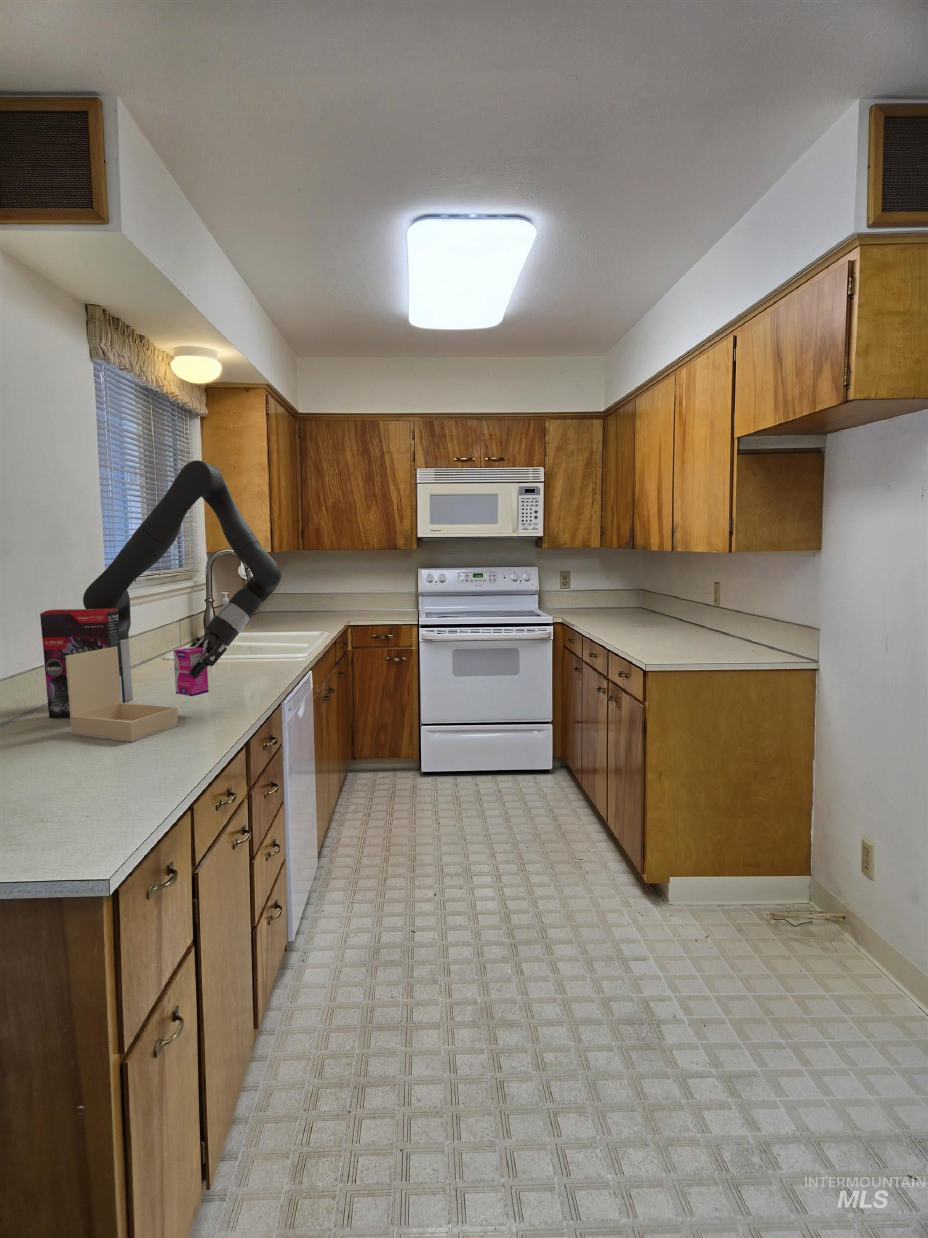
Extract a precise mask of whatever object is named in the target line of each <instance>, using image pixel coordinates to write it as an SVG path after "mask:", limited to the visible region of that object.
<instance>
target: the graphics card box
mask: <svg viewBox="0 0 928 1238" xmlns="http://www.w3.org/2000/svg"><path fill="white" fill-rule="evenodd" d="M39 616H40V618H39V619H40V625H41V626H40V627H41V639H42V650H43V661H44V671H45V673H44V675H45V684H46V685H45V686H46V695H47V708H48V718H49V719H70V708H69V695H68V683H67V670H66V657H65V656H67V655H73V654H78V653H83V652H89V651H94V650H100V649H105V648H111V647H117V648H118V662H119V677H120V691H121V703H126V702H125V691H124V679H123V667H122V655H121V641H120V627H119V610H118V608H115V609H85V608H76V609H73V608H72V609H71V608H70V609H68V608H67V609H66V608H65V609H49V610H45V611H42V612H41V613H40V614H39Z"/></svg>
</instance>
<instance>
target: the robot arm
mask: <svg viewBox="0 0 928 1238" xmlns="http://www.w3.org/2000/svg"><path fill="white" fill-rule="evenodd" d="M201 498H202V499H203V500H204V501H205V502H206V504H208V506H209V507H210V508H211V510H212V511H213V513H215V516H216V517H217V520H218V522H219V525H220V527H221V530H222V533H223V535H224V538H225V539H226V541H227V543H228V544H229V546H230V547H231V549H232V551H233V553H235V555H236V557H237V559H238V560H239V561H240V562H241V563H242V564H245V565H246V566H247V568H248V569H249V571H250V572H251V574H252V576H251V577H250V578H249V580H247V582H246V583H245V584H244V586H243V587H242V588H241V589H239V590H238V591H236V593H234V595H233V596H232V597H231V598H230V599H229V601H228V602H227V603H225V605H224V606H223V607H221V608H220V609H219V611H217V613H216V614H215V616H214V617H213V618H212V619H211V620H210V621H209V622H208V624H207V625H206V626H205V627H204V631H205V633H206V635H205V636H204V637H203V638H201V637H199V636H197V637H196V638H195V639H194V640H193V642H192V643H191V644H190V645H189V646H188V647H198V648H203V650H202V651H201V658H200V660H199V662H200V663H199V662H197V664H196V665H195V666H194V667H193V668H192V670H191V671H190V672H189V675H190V676H191V677H193V678H195V679H196V678H197V677H198V676H199V675H200V674H201V672H202V671H203V670H204V669H205V667H206V668H207V669H208V668H209V666H210V667H213V666H214V665H215V664H216V663H217V662H218V661H219V659H221V657H222V656H224V654H225V652H226V651H227V650H228V647H229V646H230V645H231V644H232V643H233V641H235V639H236V638H237V637H238V636H239V634H240V633H242V631H243V629H244V628H245V627H246V625H247V624H248V622H249V621H250V620H251V618H252V617H253V616H254V614H255V613H256V612H257V611H258V609H259V608H260V607H261V605H262V604H263V603H264V602H265V601H266V600H267V599H268V598H269V597H270V596H271V595H272V593H274V591H275V590H276V589H277V588H278V586H279V584H280V581H281V579H282V571H281V568H280V567H279V566H278V564H277V562H276V561H275V560H274V559H273V557H272V556H271V555H270V554H269V553H268V552H267V551H266V549H264V548H263V546H262V544H261V543H260V541H259V539H258V538H257V536H256V535H255V534H254V531H253V530H252V529H251V527H250V526H249V524H248V523H247V521H246V520H245V518H244V516H243V514H242V513H241V511H240V509H239V508H238V505H237V504H236V502H235V501H234V498H233V496H232V494H231V492H230V490H229V487H228V485H227V483H226V480H225V477H224V475H223V473H222V472H221V470H220V469H219V468H218V467H216V466H215V465H213V464H211V463H208V462H205V461H203V460H197V459H196V460H191V461H189V462H188V463H186V464H185V465H183V467H182V468H181V470H180V471H179V473H178V474H177V476H176V477H175V479H174V480H173V482H172V484H171V485H170V487H169V489H168V490H167V491H166V493H165V494H164V496H162V499H161V500H160V501H159V502H158V503H157V504H156V506H155V507H153V509H152V510H151V512H150V513H149V514H148V516H147V517H146V518H144V521H143V522H141V524H140V525H139V527H137V529H136V530H135V532H133V534H132V535H131V537H130V538H129V539H128V541H127V542H126V543H125V544H124V546H122V549H120V551H119V552H118V553H117V555H116V556H115V558H114V559H113V561H112V562H111V563H110V564H109V566H108V567H107V568H105V570H104V571H103V572H102V573H100V575H99V576H98V577H96V579H95V580H93V582H92V583H90V585H89V586H88V587H87V588H86V590H85V591H84V594H83V597H82V604H83V607H84V609H115V608H118V610H119V627H120V641H121V655H122V667H123V679H124V691H125V703H127V702H129V701H131V700H133V698H134V696H133V695H134V693H133V692H134V691H133V681H132V680H133V679H132V666H131V654H130V653H131V652H130V650H131V649H130V639H129V637H130V636H129V635H130V634H129V633H130V629H131V624H132V623H131V599H130V594H129V592H128V588H129V587H130V586H131V585H132V584H133V583H134V581H136V580H137V578H139V577H140V576H141V575H143V574H144V573H145V572H147V571H148V570H149V569H150V568H152V567H153V566H154V565H155V564H156V563H157V562H159V561H160V560H161V558H163V557H164V555H165V554H166V553H167V552H168V551H169V549H170V548H171V547H172V546H173V544H174V542H175V541H176V539H177V538H178V536H179V532H180V529H181V527H182V524H183V521H184V519H185V516H186V515H187V513H188V512H189V510H190V509H191V508H192V507H193V505H195V503H196V502H197V501H198V500H199V499H201Z"/></svg>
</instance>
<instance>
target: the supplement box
mask: <svg viewBox="0 0 928 1238" xmlns="http://www.w3.org/2000/svg"><path fill="white" fill-rule="evenodd" d="M202 650H203V648H198V647H189V646H187V647H182V648H178V649H174V650H173V663H174V664H173V666H174V667H173V668H174V684H175V685H174V686H175V694H176V695H181V696H182V695H183V696H188V697H195V696H199V695H202V694H206V693H209V691H210V689H209V676H208V667H207V668H206V667H205V669H204V670H203V671H202V672H201V674H200V675H199V676H198V677H197V678H196V679H195V678H193V677H191V676H190V675H189V672H190V671H191V670H192V668H193V667H194V666H195V665H196V664H197V662H199V660H200V658H201V651H202ZM199 663H200V662H199Z"/></svg>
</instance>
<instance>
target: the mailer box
mask: <svg viewBox="0 0 928 1238" xmlns="http://www.w3.org/2000/svg"><path fill="white" fill-rule="evenodd" d="M65 657H66V670H67V683H68V695H69V708H70V718H69V719H70V730H71V736H74V737H82V738H83V737H84V738H91V739H100V740H109V741H117V742H124V741H126V743H134V742H133V741H135V742H137V741H136V740H138V741H140V740H143V739H146V738H149V737H151V736H155V735H157V734H160V733H163V732H165V731H168V730H172V729H174V728H177V727H179V717H178V716H179V715H178V714H179V713H178V707H172V706H161V705H151V704H138V703H129V702H125V703H121V691H120V677H119V662H118V648H117V647H111V648H105V649H100V650H94V651H89V652H83V653H78V654H73V655H67V656H65ZM142 738H143V739H142ZM139 739H140V740H139Z"/></svg>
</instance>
